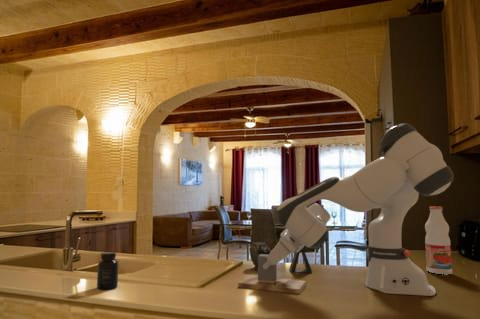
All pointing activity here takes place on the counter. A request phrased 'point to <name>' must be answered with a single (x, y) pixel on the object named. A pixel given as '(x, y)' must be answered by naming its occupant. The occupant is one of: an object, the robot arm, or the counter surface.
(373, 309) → the counter surface
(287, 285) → the board
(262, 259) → the sanding block
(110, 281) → the supplement bottle
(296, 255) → the dark brown triangular frame
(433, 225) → the fruit juice
